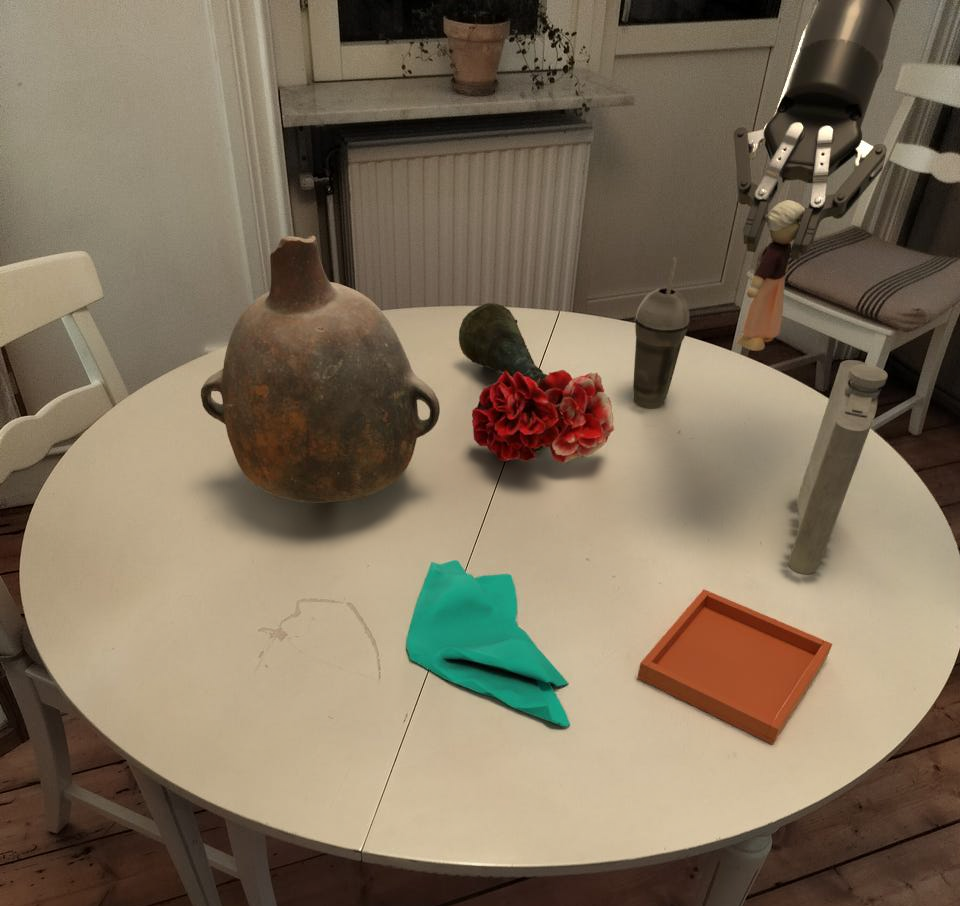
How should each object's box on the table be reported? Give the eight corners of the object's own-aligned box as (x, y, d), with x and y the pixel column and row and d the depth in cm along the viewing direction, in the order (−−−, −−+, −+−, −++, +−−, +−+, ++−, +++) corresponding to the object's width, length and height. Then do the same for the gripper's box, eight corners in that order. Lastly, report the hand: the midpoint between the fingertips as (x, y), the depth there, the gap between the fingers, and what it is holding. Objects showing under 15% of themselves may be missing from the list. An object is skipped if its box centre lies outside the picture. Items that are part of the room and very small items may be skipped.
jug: (397, 429, 115) (384, 184, 94) (456, 516, 101) (456, 249, 80) (212, 464, 108) (155, 208, 87) (247, 563, 93) (188, 284, 73)
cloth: (382, 573, 93) (380, 556, 91) (503, 553, 96) (504, 536, 94) (440, 755, 74) (439, 738, 73) (588, 724, 77) (591, 707, 76)
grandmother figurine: (768, 358, 81) (805, 216, 73) (728, 350, 83) (759, 209, 74) (784, 328, 86) (820, 191, 78) (746, 320, 88) (777, 185, 79)
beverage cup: (668, 388, 125) (694, 244, 111) (680, 412, 119) (708, 265, 106) (618, 388, 124) (638, 244, 111) (628, 413, 119) (650, 265, 105)
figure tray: (826, 659, 84) (832, 643, 83) (772, 744, 76) (778, 729, 75) (699, 603, 90) (703, 588, 88) (636, 678, 82) (640, 662, 80)
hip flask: (797, 494, 105) (848, 335, 91) (831, 500, 104) (888, 341, 91) (786, 570, 94) (843, 403, 80) (825, 578, 93) (888, 410, 79)
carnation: (478, 411, 134) (577, 525, 109) (386, 348, 123) (474, 459, 98) (541, 326, 129) (660, 425, 104) (452, 252, 118) (562, 343, 93)
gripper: (756, 28, 75) (693, 216, 76) (927, 42, 71) (858, 242, 71) (757, 88, 83) (699, 259, 83) (912, 103, 78) (850, 285, 78)
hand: (773, 250), depth 77 cm, fingers closed on grandmother figurine, 3 cm apart
